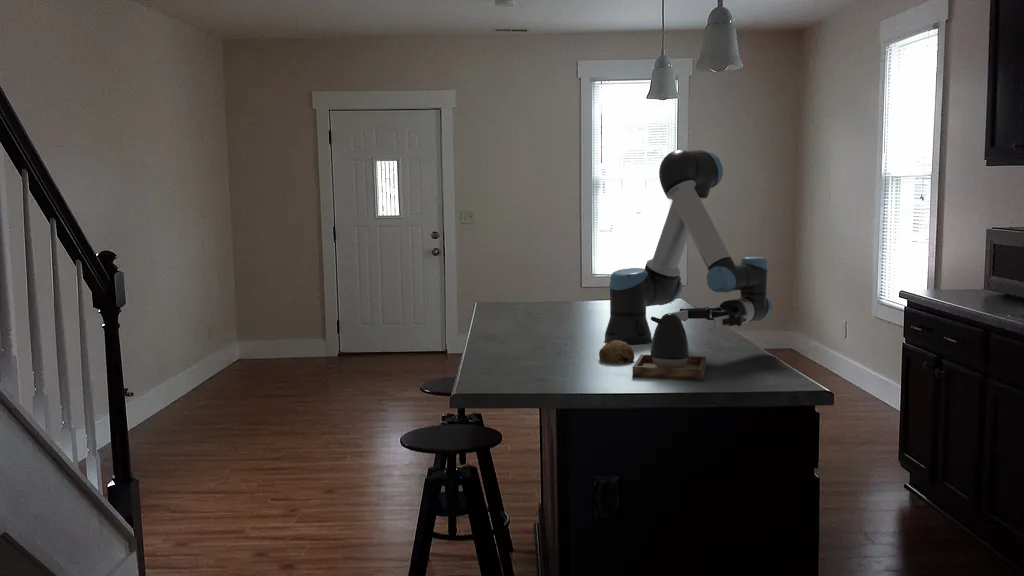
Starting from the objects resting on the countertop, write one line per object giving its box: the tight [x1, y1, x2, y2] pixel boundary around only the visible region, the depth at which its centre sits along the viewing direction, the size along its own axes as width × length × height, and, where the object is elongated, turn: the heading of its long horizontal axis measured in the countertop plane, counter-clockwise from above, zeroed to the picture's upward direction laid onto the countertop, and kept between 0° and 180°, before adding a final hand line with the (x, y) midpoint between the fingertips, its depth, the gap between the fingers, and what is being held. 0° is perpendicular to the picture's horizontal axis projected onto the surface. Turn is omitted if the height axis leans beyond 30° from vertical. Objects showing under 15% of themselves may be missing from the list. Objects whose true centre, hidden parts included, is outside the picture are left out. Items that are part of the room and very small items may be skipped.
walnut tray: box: [632, 353, 707, 382], centre depth 239 cm, size 18×18×3 cm
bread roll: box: [598, 340, 635, 365], centre depth 256 cm, size 10×10×8 cm
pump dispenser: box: [650, 312, 690, 368], centre depth 238 cm, size 10×10×15 cm
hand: (693, 320), depth 245 cm, fingers open, 13 cm apart
